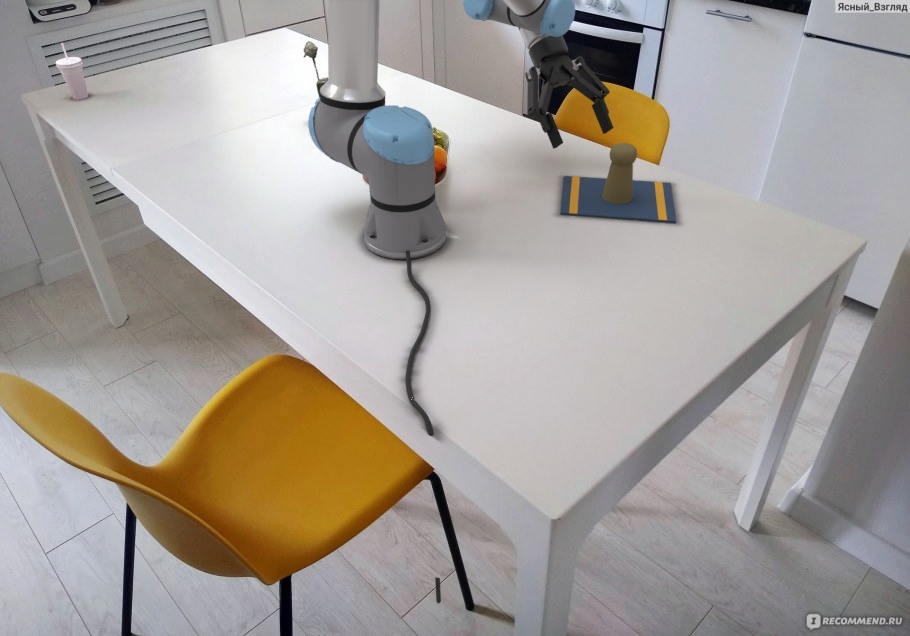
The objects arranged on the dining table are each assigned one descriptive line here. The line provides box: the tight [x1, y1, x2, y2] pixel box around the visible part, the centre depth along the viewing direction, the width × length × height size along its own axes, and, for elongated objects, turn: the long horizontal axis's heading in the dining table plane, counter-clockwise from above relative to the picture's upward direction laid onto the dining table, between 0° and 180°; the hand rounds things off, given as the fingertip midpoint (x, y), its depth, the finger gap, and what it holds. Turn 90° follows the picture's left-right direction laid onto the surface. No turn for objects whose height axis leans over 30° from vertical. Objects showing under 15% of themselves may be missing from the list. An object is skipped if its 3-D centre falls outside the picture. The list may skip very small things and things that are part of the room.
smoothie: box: [55, 42, 89, 100], centre depth 188 cm, size 6×6×14 cm
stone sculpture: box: [303, 40, 328, 122], centre depth 170 cm, size 8×11×20 cm
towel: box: [559, 175, 677, 224], centre depth 144 cm, size 16×22×1 cm
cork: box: [602, 142, 638, 204], centre depth 140 cm, size 6×6×11 cm
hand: (584, 138), depth 145 cm, fingers open, 13 cm apart
